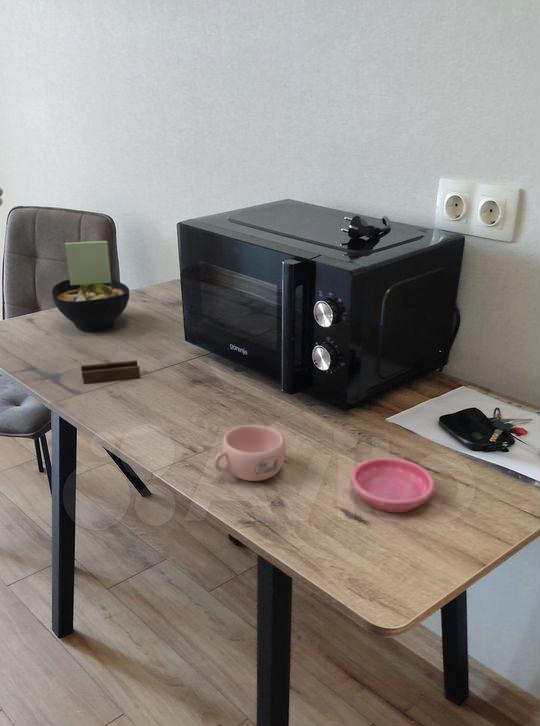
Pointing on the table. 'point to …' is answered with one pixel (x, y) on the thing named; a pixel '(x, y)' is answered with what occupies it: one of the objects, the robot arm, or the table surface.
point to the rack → (110, 372)
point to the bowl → (91, 303)
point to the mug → (252, 452)
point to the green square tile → (88, 262)
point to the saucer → (392, 484)
